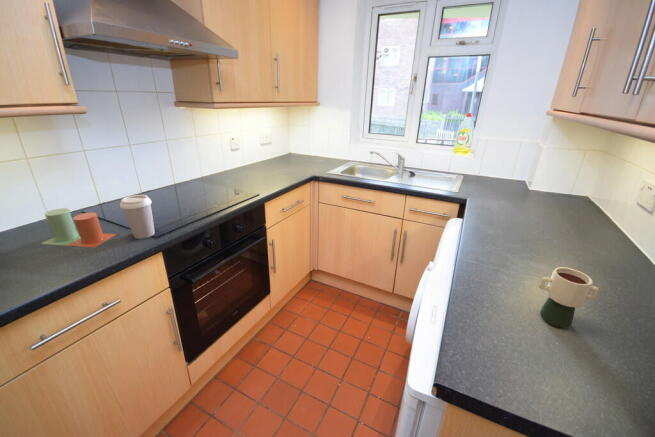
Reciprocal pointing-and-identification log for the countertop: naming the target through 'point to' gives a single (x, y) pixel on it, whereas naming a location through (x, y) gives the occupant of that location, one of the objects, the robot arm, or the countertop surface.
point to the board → (78, 241)
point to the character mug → (565, 295)
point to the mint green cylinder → (61, 224)
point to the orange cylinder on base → (88, 228)
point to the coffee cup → (139, 215)
